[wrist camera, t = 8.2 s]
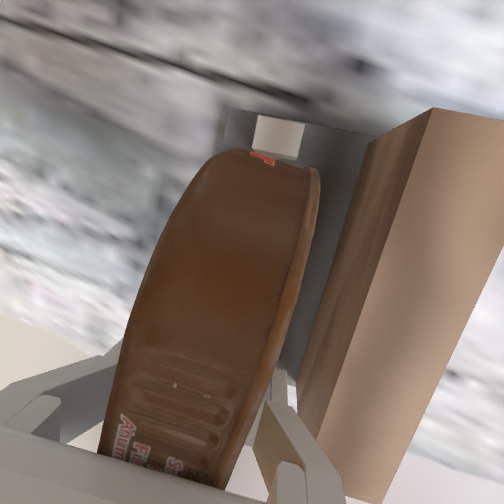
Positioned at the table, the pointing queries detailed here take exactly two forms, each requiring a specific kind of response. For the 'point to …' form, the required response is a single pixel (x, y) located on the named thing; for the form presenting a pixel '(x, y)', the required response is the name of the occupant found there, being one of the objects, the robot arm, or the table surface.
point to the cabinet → (383, 274)
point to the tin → (212, 317)
